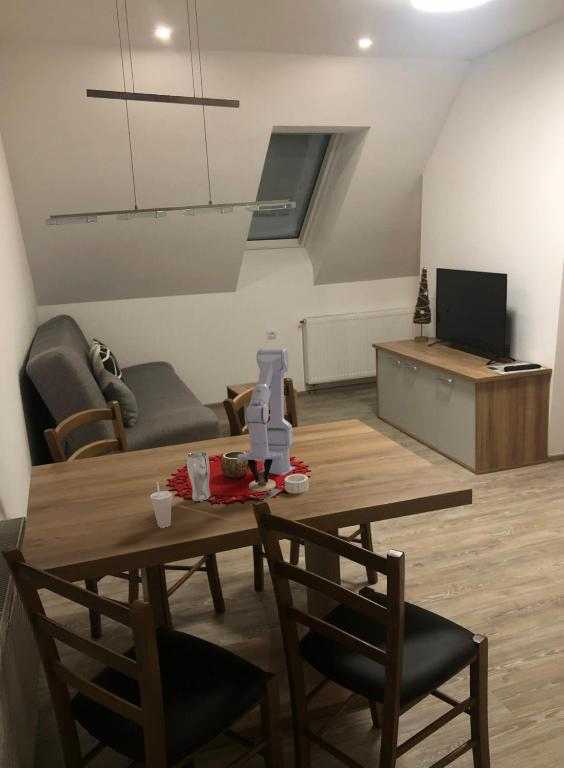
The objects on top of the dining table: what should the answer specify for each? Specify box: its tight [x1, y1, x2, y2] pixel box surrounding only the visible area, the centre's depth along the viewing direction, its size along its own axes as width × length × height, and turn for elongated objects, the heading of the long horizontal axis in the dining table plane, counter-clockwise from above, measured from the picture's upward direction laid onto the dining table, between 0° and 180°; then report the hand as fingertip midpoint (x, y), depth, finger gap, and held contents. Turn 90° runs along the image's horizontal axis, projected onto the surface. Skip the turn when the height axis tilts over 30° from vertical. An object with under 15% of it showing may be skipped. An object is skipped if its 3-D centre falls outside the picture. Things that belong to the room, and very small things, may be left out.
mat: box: [255, 488, 283, 502], centre depth 207 cm, size 9×9×1 cm
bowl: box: [284, 473, 310, 495], centre depth 208 cm, size 8×8×4 cm
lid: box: [248, 470, 277, 492], centre depth 206 cm, size 9×9×5 cm
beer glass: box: [186, 451, 212, 502], centre depth 205 cm, size 7×7×15 cm
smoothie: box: [149, 480, 173, 529], centre depth 187 cm, size 6×6×14 cm
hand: (262, 481), depth 206 cm, fingers closed on lid, 3 cm apart
